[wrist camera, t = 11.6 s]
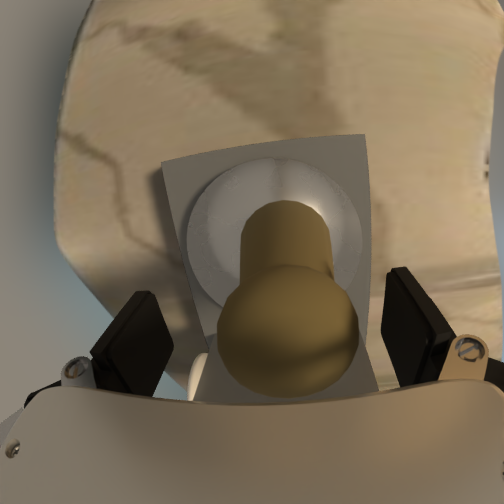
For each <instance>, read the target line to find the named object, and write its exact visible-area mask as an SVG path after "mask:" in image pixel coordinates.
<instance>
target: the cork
mask: <svg viewBox="0 0 504 504" xmlns="http://www.w3.org/2000/svg"><path fill="white" fill-rule="evenodd" d="M358 346H359V322H358V316H357V313H356V311H355V308H354V306H353V304H352V302H351V300H350V298H349V296H348V294H347V293H346V291H345V290H343V289H342V288H341V287H340V286H339V285H338V284H337V283H336V282H335V279H334V267H333V256H332V246H331V239H330V233H329V229H328V227H327V225H326V223H325V221H324V219H323V218H322V216H321V215H319V214H318V213H317V212H316V211H315V210H314V209H313V208H312V207H310V206H307V205H305V204H303V203H300V202H298V201H289V200H280V201H276V202H271V203H268V204H266V205H264V206H262V207H261V208H259V209H257V210H256V211H255V212H254V213H253V214H252V215H251V216H250V217H249V219H248V220H247V221H246V223H245V225H244V228H243V230H242V233H241V243H240V284H239V286H238V287H237V288H236V289H235V290H234V291H233V292H232V293H231V294H230V295H229V296H228V297H227V300H226V302H225V304H224V307H223V309H222V312H221V314H220V317H219V319H218V322H217V347H218V352H219V355H220V357H221V359H222V361H223V364H224V366H225V367H226V369H227V371H228V372H229V374H230V375H231V376H232V377H233V378H234V379H235V380H236V381H237V382H238V383H239V384H240V385H242V386H244V387H246V388H247V389H249V390H251V391H253V392H254V393H258V394H261V395H265V396H268V397H273V398H287V399H290V398H298V397H305V396H309V395H312V394H315V393H317V392H320V391H323V390H325V389H326V388H328V387H329V386H331V385H332V384H334V383H335V382H337V381H338V380H339V379H340V378H341V377H342V375H343V374H344V373H345V372H346V371H347V370H348V368H349V367H350V365H351V363H352V361H353V359H354V356H355V354H356V351H357V348H358Z"/></svg>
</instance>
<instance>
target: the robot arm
mask: <svg viewBox="0 0 504 504" xmlns="http://www.w3.org/2000/svg"><path fill="white" fill-rule="evenodd" d="M381 335H382V338H383V341H384V343H385V346H386V348H387V351H388V354H389V356H390V359H391V362H392V365H393V367H394V370H395V373H396V376H397V379H398V382H399V385H400V388H395V389H390V390H384V391H378V392H372V393H366V394H359V395H352V396H345V397H337V398H328V399H319V400H307V401H292V402H271V403H221V402H200V401H185V400H173V399H164V398H155V397H152V396H153V394H154V392H155V389H156V387H157V385H158V383H159V380H160V378H161V376H162V374H163V371H164V369H165V367H166V365H167V363H168V360H169V358H170V356H171V354H172V352H173V348H174V344H173V341H172V338H171V336H170V333H169V331H168V328H167V326H166V323H165V321H164V318H163V315H162V313H161V310H160V308H159V305H158V302H157V299H156V297H155V295H154V294H152V293H151V292H150V291H136V292H135V293H134V295H133V296H132V297H131V298H130V299H129V301H128V302H127V303H126V305H125V306H124V307H123V308H122V310H121V311H120V312H119V313H118V315H117V316H116V317H115V319H114V320H113V321H112V322H111V324H110V325H109V326H108V328H107V329H106V331H105V332H104V333H103V334H102V336H101V337H100V338H99V340H98V341H97V342H96V344H95V345H94V347H93V348H92V349H91V351H90V354H91V355H92V357H93V358H92V360H90V359H89V358H88V357H84V356H83V357H82V356H81V357H76V358H74V359H72V360H70V361H69V362H68V363H66V365H65V366H64V367H63V369H62V371H61V380H60V381H57V382H55V383H53V384H51V385H49V386H47V387H44V388H42V389H40V390H38V391H35V392H33V393H31V394H30V395H29V396H28V397H27V399H26V402H25V404H24V410H23V409H22V408H21V409H20V410H18V411H17V412H15V413H14V414H13V415H11V416H10V417H9V418H7V419H6V420H5V421H3V422H2V423H1V424H0V504H504V363H503V362H500V361H497V360H495V359H492V358H489V357H488V356H489V349H488V347H487V345H486V343H485V342H484V341H483V340H482V339H480V338H479V337H477V336H474V335H469V334H465V335H460V336H458V337H457V336H456V334H455V333H454V331H453V330H452V328H451V327H450V325H449V324H448V322H447V321H446V319H445V318H444V316H443V315H442V314H441V312H440V311H439V309H438V308H437V306H436V305H435V304H434V302H433V301H432V299H431V298H430V297H429V296H428V295H427V294H426V292H425V291H424V290H423V288H422V287H421V286H420V284H419V283H418V282H417V280H416V279H415V278H414V276H413V275H412V274H411V272H410V271H409V270H408V269H407V267H398V268H392V269H391V272H388V273H387V276H386V287H385V297H384V307H383V315H382V322H381Z"/></svg>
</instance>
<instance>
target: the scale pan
mask: <svg viewBox="0 0 504 504" xmlns="http://www.w3.org/2000/svg"><path fill="white" fill-rule="evenodd" d="M280 200H289V201H298V202H300V203H303V204H305V205H307V206H310V207H312V208H313V209H314V210H315V211H316V212H317V213H318V214H319V215H321V216H322V218H323V219H324V221H325V223H326V225H327V227H328V229H329V233H330V239H331V246H332V256H333V267H334V279H335V282H336V283H337V284H338V285H339V286H340V287H341V288H342V289H343V290H346V289H347V287H348V286H349V285H350V283H351V282H352V280H353V278H354V276H355V274H356V271H357V269H358V266H359V263H360V258H361V253H362V230H361V225H360V221H359V217H358V215H357V212H356V210H355V207H354V206H353V204H352V202H351V200H350V198H349V197H348V196H347V194H346V193H345V192H344V190H343V189H342V188H341V187H340V186H339V185H338V184H337V183H336V182H335V181H334V180H333V179H331V178H330V177H329V176H327V175H326V174H325V173H323V172H322V171H320V170H318V169H317V168H315V167H313V166H311V165H309V164H306V163H303V162H300V161H297V160H292V159H288V158H276V157H273V158H261V159H256V160H251V161H248V162H245V163H242V164H240V165H237V166H236V167H234V168H232V169H230V170H228V171H226V172H225V173H223V174H222V175H220V176H219V177H218V178H216V179H215V180H214V181H213V182H212V183H211V184H210V185H209V186H208V187H207V188H206V189H205V191H204V192H203V193H202V194H201V196H200V197H199V199H198V201H197V203H196V204H195V206H194V208H193V211H192V213H191V216H190V220H189V224H188V229H187V251H188V257H189V261H190V264H191V267H192V270H193V272H194V274H195V276H196V278H197V280H198V281H199V283H200V285H201V286H202V288H203V289H204V290H205V291H206V292H207V294H208V295H209V296H210V297H211V298H212V299H213V300H214V301H215V302H217V303H218V304H219V305H221V306H222V307H224V304H225V302H226V300H227V297H228V296H229V295H230V294H231V293H232V292H233V291H234V290H235V289H236V288H237V287H238V286H239V284H240V243H241V233H242V230H243V228H244V225H245V223H246V221H247V220H248V219H249V217H250V216H251V215H252V214H253V213H254V212H255V211H256V210H257V209H259V208H261V207H262V206H264V205H266V204H268V203H271V202H276V201H280Z"/></svg>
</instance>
